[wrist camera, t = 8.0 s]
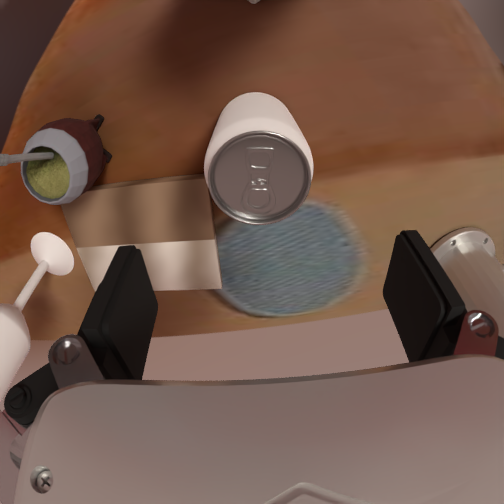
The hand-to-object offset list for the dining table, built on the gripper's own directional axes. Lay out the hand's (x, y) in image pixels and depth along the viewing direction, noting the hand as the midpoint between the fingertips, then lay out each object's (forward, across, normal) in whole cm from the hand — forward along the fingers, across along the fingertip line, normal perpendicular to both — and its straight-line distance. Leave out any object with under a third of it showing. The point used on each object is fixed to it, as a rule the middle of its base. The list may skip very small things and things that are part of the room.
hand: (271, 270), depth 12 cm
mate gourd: (+20, +16, -1) cm, 26 cm away
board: (+19, +13, +11) cm, 25 cm away
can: (+19, 0, 0) cm, 19 cm away
